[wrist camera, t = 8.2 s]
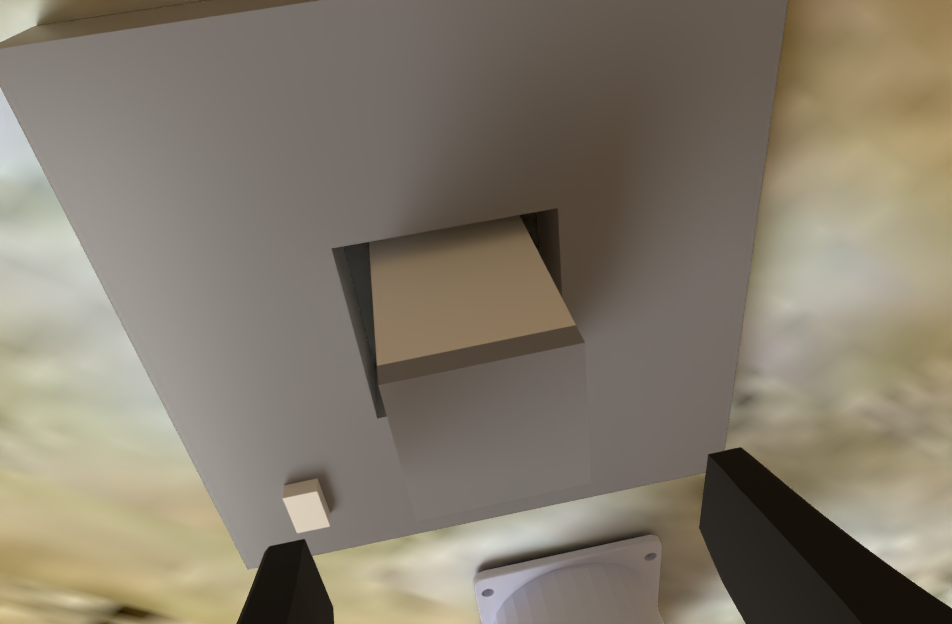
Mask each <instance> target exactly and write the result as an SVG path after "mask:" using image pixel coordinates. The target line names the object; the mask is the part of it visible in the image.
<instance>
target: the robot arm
mask: <svg viewBox="0 0 952 624" xmlns="http://www.w3.org/2000/svg"><path fill="white" fill-rule="evenodd" d="M699 528H700V531H701V533H702V536H703V538H704V540H705V543H706V545H707V548H708V550H709V552H710V555H711V557H712V559H713V562H714V564H715V566H716V568H717V571H718V573H719V575H720V577H721V580H722V582H723V584H724V586H725V587H726V589H727V591H728V593H729V595H730V597H731V598H732V600H733V602H734V604H735V605H736V607H737V609H738V611H739V612H740V614H741V616H742V618H743V620H744V621H745V623H746V624H952V608H951V607H949V606H947V605H946V604H944V603H943V602H941V601H940V600H938V599H937V598H935V597H934V596H932V595H931V594H930V593H928V592H927V591H925V590H924V589H922V588H921V587H919V586H918V585H916V584H915V583H914V582H912V581H911V580H909V579H908V578H906V577H905V576H904V575H902V574H901V573H899V572H898V571H897V570H895V569H894V568H892V567H891V566H890V565H888V564H887V563H885V562H884V561H883V560H881V559H880V558H879V557H877V556H876V555H875V554H873V553H872V552H871V551H869V550H868V549H866V548H865V547H864V546H862V545H861V544H860V543H859V542H857V541H856V540H855V539H853V538H852V537H851V536H850V535H848V534H847V533H846V532H844V531H843V530H842V529H840V528H839V527H838V526H837V525H835V524H834V523H833V522H831V521H830V520H829V519H828V518H826V517H825V516H824V515H823V514H821V513H820V512H819V511H818V510H816V509H815V508H814V507H813V506H811V505H810V504H809V503H808V502H806V501H805V500H804V499H803V498H802V497H800V496H799V495H798V494H797V493H795V492H794V491H793V490H792V489H791V488H789V487H788V486H787V485H786V484H785V483H783V482H782V481H781V480H780V479H779V478H777V477H776V476H775V475H774V474H773V473H771V472H770V471H769V470H768V469H767V468H765V467H764V466H763V465H762V464H761V463H760V462H758V461H757V460H756V459H755V458H754V457H752V456H751V455H750V454H749V453H748V452H746V451H745V450H744V449H742V448H741V447H740V448H735V449H730V450H726V451H721V452H716V453H711V454H708V459H707V467H706V476H705V484H704V492H703V501H702V509H701V517H700V526H699ZM661 554H662V544H661V542H660V539H659V537H657V536H656V535H645V536H641V537H636V538H632V539H627V540H622V541H618V542H613V543H609V544H604V545H599V546H595V547H590V548H586V549H581V550H576V551H572V552H567V553H563V554H558V555H554V556H549V557H544V558H540V559H535V560H531V561H526V562H521V563H517V564H512V565H508V566H503V567H498V568H494V569H489V570H485V571H481V572H479V573H478V574H476V575H475V577H474V578H473V583H474V588H475V593H476V598H477V604H478V609H479V614H480V619H481V624H664V621H663V619H662V617H661V614H660V612H659V610H658V594H659V581H660V567H661ZM237 624H334V614H333V606H332V603H331V601H330V599H329V596H328V594H327V591H326V589H325V586H324V584H323V582H322V579H321V577H320V574H319V572H318V569H317V567H316V565H315V562H314V560H313V557H312V555H311V552H310V550H309V548H308V545H307V543H306V540H305V539H301V540H296V541H292V542H287V543H282V544H277V545H272V546H269V547H268V548H267V549H266V551H265V552H264V555H263V557H262V560H261V563H260V566H259V568H258V571H257V574H256V576H255V579H254V582H253V584H252V587H251V589H250V592H249V595H248V597H247V600H246V602H245V605H244V607H243V609H242V612H241V614H240V617H239V619H238V621H237Z"/></svg>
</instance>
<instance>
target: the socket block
mask: <svg viewBox="0 0 952 624" xmlns="http://www.w3.org/2000/svg"><path fill="white" fill-rule="evenodd" d="M787 5H788V0H207V1H200V2H194V3H187V4H180V5H173V6H167V7H160V8H153V9H147V10H140V11H133V12H126V13H120V14H113V15H106V16H100V17H93V18H86V19H79V20H73V21H66V22H59V23H52V24H46V25H39V26H34V27H32V28H30V29H28V30H25V31H23V32H21V33H19V34H17V35H15V36H13V37H11V38H9V39H7V40H5V41H2V42H0V87H1V89H2V91H3V93H4V95H5V97H6V99H7V101H8V103H9V105H10V107H11V109H12V111H13V113H14V115H15V116H16V118H17V120H18V122H19V124H20V126H21V128H22V130H23V132H24V134H25V136H26V138H27V140H28V142H29V144H30V146H31V148H32V150H33V152H34V154H35V156H36V157H37V159H38V161H39V163H40V165H41V167H42V169H43V171H44V173H45V175H46V177H47V179H48V181H49V183H50V185H51V187H52V189H53V191H54V193H55V195H56V197H57V198H58V200H59V202H60V204H61V206H62V208H63V210H64V212H65V214H66V216H67V218H68V220H69V222H70V224H71V226H72V228H73V230H74V232H75V234H76V236H77V238H78V239H79V241H80V243H81V245H82V247H83V249H84V251H85V253H86V255H87V257H88V259H89V261H90V263H91V265H92V267H93V269H94V271H95V273H96V275H97V277H98V279H99V280H100V282H101V284H102V286H103V288H104V290H105V292H106V294H107V296H108V298H109V300H110V302H111V304H112V306H113V308H114V310H115V312H116V314H117V316H118V318H119V320H120V321H121V323H122V325H123V327H124V329H125V331H126V333H127V335H128V337H129V339H130V341H131V343H132V345H133V347H134V349H135V351H136V353H137V355H138V357H139V359H140V361H141V362H142V364H143V366H144V368H145V370H146V372H147V374H148V376H149V378H150V380H151V382H152V384H153V386H154V388H155V390H156V392H157V394H158V396H159V398H160V400H161V402H162V403H163V405H164V407H165V409H166V411H167V413H168V415H169V417H170V419H171V421H172V423H173V425H174V427H175V429H176V431H177V433H178V435H179V437H180V439H181V441H182V443H183V445H184V446H185V448H186V450H187V452H188V454H189V456H190V458H191V460H192V462H193V464H194V466H195V468H196V470H197V472H198V474H199V476H200V478H201V480H202V482H203V484H204V486H205V487H206V489H207V491H208V493H209V495H210V497H211V499H212V501H213V503H214V505H215V507H216V509H217V511H218V513H219V515H220V517H221V519H222V521H223V523H224V525H225V527H226V528H227V530H228V532H229V534H230V536H231V538H232V540H233V542H234V544H235V546H236V548H237V550H238V552H239V554H240V556H241V558H242V560H243V562H244V564H245V566H246V568H247V569H253V568H258V567H259V566H260V563H261V560H262V557H263V555H264V552H265V551H266V549H267V548H268V547H269V546H272V545H277V544H282V543H287V542H292V541H296V540H301V539H305V540H306V543H307V545H308V548H309V550H310V552H311V555H312V556H314V555H319V554H324V553H329V552H333V551H338V550H343V549H347V548H352V547H357V546H362V545H366V544H371V543H376V542H380V541H385V540H390V539H395V538H399V537H404V536H409V535H413V534H418V533H423V532H428V531H432V530H437V529H442V528H446V527H451V526H456V525H461V524H465V523H470V522H475V521H480V520H484V519H489V518H494V517H498V516H503V515H508V514H513V513H517V512H522V511H527V510H531V509H536V508H541V507H546V506H550V505H555V504H560V503H564V502H569V501H574V500H579V499H583V498H588V497H593V496H597V495H602V494H607V493H612V492H616V491H621V490H626V489H630V488H635V487H640V486H645V485H649V484H654V483H659V482H663V481H668V480H673V479H678V478H682V477H687V476H692V475H697V474H701V473H706V467H707V459H708V454H711V453H716V452H721V451H725V444H726V437H727V430H728V423H729V415H730V408H731V401H732V394H733V387H734V380H735V373H736V366H737V359H738V352H739V345H740V338H741V330H742V323H743V316H744V309H745V302H746V295H747V288H748V281H749V274H750V267H751V260H752V253H753V246H754V238H755V231H756V224H757V217H758V210H759V203H760V196H761V189H762V182H763V175H764V168H765V161H766V154H767V146H768V139H769V132H770V125H771V118H772V111H773V104H774V97H775V90H776V83H777V76H778V69H779V61H780V54H781V47H782V40H783V33H784V26H785V19H786V12H787ZM533 212H537V227H538V242H539V254H540V256H541V258H542V260H543V262H544V264H545V266H546V268H547V270H548V272H549V274H550V276H551V278H552V280H553V281H554V283H555V285H556V287H557V289H558V291H559V293H560V295H561V297H562V299H563V301H564V303H565V305H566V307H567V309H568V311H569V313H570V314H571V316H572V318H573V320H574V322H575V324H576V326H577V328H578V330H579V332H580V334H581V336H582V338H583V340H584V342H585V354H586V377H587V400H588V424H589V447H590V470H591V483H588V484H584V485H579V486H575V487H570V488H565V489H561V490H556V491H552V492H547V493H543V494H538V495H534V496H529V497H525V498H520V499H516V500H511V501H507V502H502V503H498V504H493V505H489V506H484V507H480V508H475V509H470V510H466V511H461V512H457V513H452V514H448V515H443V516H439V517H434V518H430V519H425V520H421V521H416V518H415V515H414V511H413V508H412V504H411V501H410V497H409V493H408V490H407V486H406V483H405V479H404V476H403V472H402V468H401V465H400V461H399V458H398V454H397V451H396V447H395V443H394V440H393V436H392V433H391V429H390V426H389V422H388V418H387V415H386V411H385V408H384V404H383V401H382V397H381V393H380V390H379V386H378V374H377V364H375V365H374V362H373V358H372V355H371V351H370V347H369V343H368V339H367V335H366V331H365V327H364V324H363V320H362V316H361V312H360V308H359V304H358V300H357V296H356V292H355V289H354V285H353V281H352V277H351V273H350V269H349V265H348V261H347V258H346V254H345V250H344V246H348V245H354V244H360V243H365V242H371V241H377V240H382V239H388V238H393V237H399V236H405V235H410V234H416V233H421V232H427V231H433V230H438V229H444V228H449V227H455V226H461V225H466V224H472V223H477V222H483V221H489V220H494V219H500V218H505V217H511V216H517V215H522V214H528V213H533Z"/></svg>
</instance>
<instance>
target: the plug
mask: <svg viewBox="0 0 952 624" xmlns="http://www.w3.org/2000/svg"><path fill="white" fill-rule="evenodd" d="M369 252H370V267H371V283H372V298H373V313H374V328H375V343H376V359H377V374H378V386H379V390H380V393H381V397H382V401H383V404H384V408H385V411H386V415H387V418H388V422H389V426H390V429H391V433H392V436H393V440H394V443H395V447H396V451H397V454H398V458H399V461H400V465H401V468H402V472H403V476H404V479H405V483H406V486H407V490H408V493H409V497H410V501H411V504H412V508H413V511H414V515H415V518H416V521H421V520H425V519H430V518H434V517H439V516H443V515H448V514H452V513H457V512H461V511H466V510H470V509H475V508H480V507H484V506H489V505H493V504H498V503H502V502H507V501H511V500H516V499H520V498H525V497H529V496H534V495H538V494H543V493H547V492H552V491H556V490H561V489H565V488H570V487H575V486H579V485H584V484H588V483H591V470H590V447H589V424H588V400H587V377H586V354H585V342H584V340H583V338H582V336H581V334H580V332H579V330H578V328H577V326H576V324H575V322H574V320H573V318H572V316H571V314H570V313H569V311H568V309H567V307H566V305H565V303H564V301H563V299H562V297H561V295H560V293H559V291H558V289H557V287H556V285H555V283H554V281H553V280H552V278H551V276H550V274H549V272H548V270H547V268H546V266H545V264H544V262H543V260H542V258H541V256H540V254H539V252H538V250H537V248H536V247H535V245H534V243H533V241H532V239H531V237H530V235H529V233H528V231H527V229H526V227H525V225H524V223H523V221H522V219H521V217H520V216H519V215H517V216H511V217H505V218H500V219H494V220H489V221H483V222H477V223H472V224H466V225H461V226H455V227H449V228H444V229H438V230H433V231H427V232H421V233H416V234H410V235H405V236H399V237H393V238H388V239H382V240H377V241H371V242H369Z"/></svg>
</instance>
